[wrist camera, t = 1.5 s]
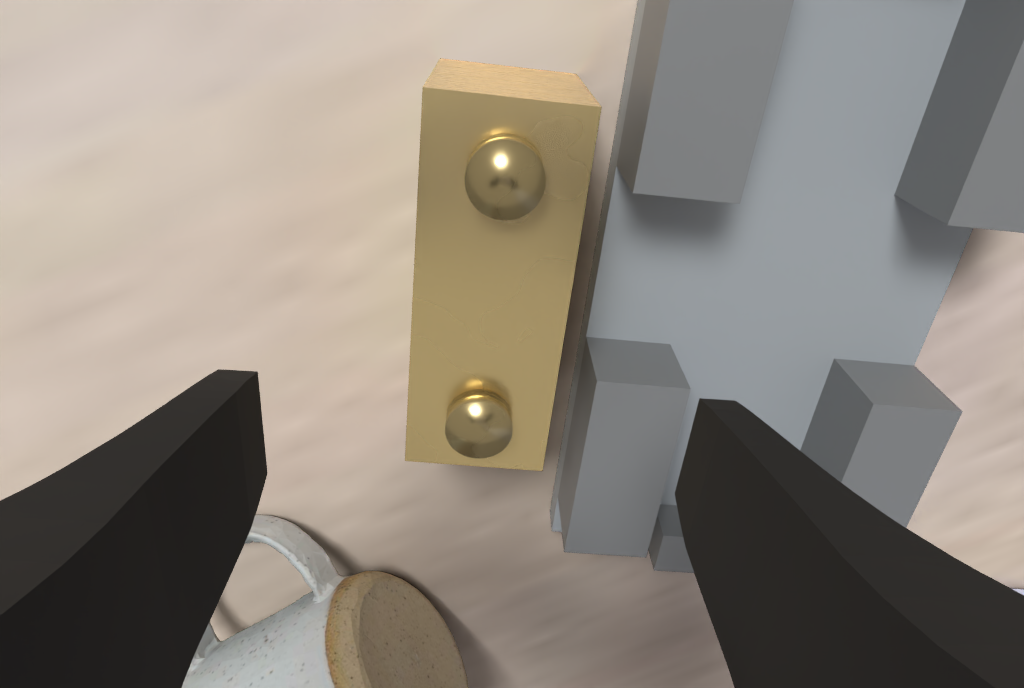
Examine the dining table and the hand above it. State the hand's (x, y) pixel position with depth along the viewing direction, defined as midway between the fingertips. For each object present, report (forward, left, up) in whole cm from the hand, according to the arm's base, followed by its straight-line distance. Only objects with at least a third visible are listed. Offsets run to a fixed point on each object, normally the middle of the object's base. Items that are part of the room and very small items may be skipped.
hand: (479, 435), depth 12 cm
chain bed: (-8, 0, -10) cm, 13 cm away
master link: (0, 0, -10) cm, 10 cm away
